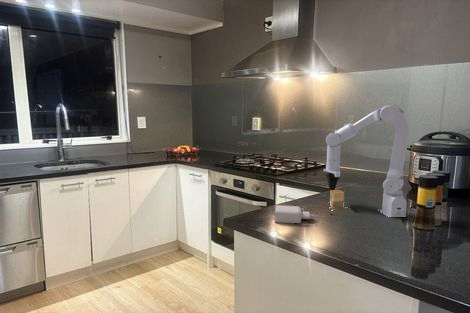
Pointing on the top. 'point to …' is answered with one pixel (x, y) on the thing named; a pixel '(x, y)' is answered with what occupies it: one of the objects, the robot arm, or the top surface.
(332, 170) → the robot arm
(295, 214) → the white bottle
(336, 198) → the oak block
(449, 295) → the top surface
